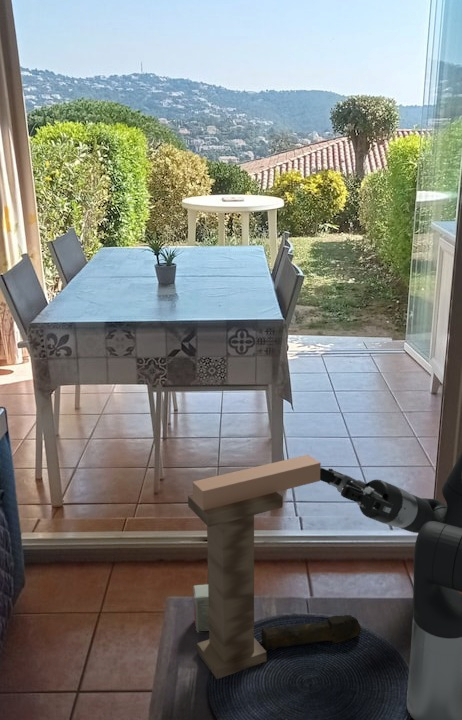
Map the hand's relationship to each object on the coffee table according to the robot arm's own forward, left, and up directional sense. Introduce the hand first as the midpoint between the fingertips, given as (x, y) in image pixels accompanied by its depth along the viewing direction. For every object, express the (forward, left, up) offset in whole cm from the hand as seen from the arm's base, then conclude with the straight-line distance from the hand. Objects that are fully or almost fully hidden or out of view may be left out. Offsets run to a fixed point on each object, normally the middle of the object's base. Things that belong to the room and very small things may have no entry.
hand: (330, 481), depth 134 cm
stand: (+18, +10, -30) cm, 37 cm away
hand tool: (+3, +5, -31) cm, 31 cm away
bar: (+13, +8, +2) cm, 15 cm away
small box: (+23, +1, -31) cm, 38 cm away
